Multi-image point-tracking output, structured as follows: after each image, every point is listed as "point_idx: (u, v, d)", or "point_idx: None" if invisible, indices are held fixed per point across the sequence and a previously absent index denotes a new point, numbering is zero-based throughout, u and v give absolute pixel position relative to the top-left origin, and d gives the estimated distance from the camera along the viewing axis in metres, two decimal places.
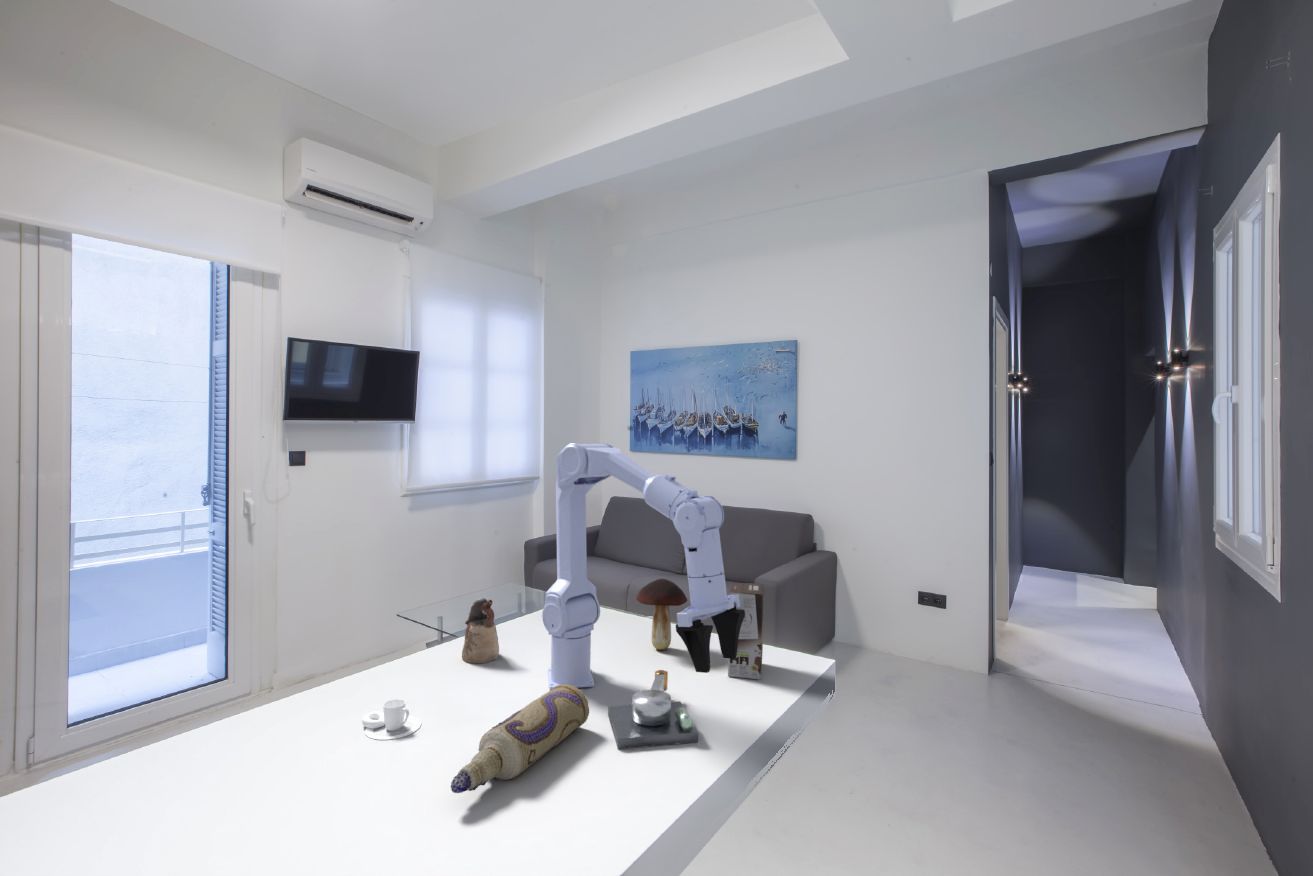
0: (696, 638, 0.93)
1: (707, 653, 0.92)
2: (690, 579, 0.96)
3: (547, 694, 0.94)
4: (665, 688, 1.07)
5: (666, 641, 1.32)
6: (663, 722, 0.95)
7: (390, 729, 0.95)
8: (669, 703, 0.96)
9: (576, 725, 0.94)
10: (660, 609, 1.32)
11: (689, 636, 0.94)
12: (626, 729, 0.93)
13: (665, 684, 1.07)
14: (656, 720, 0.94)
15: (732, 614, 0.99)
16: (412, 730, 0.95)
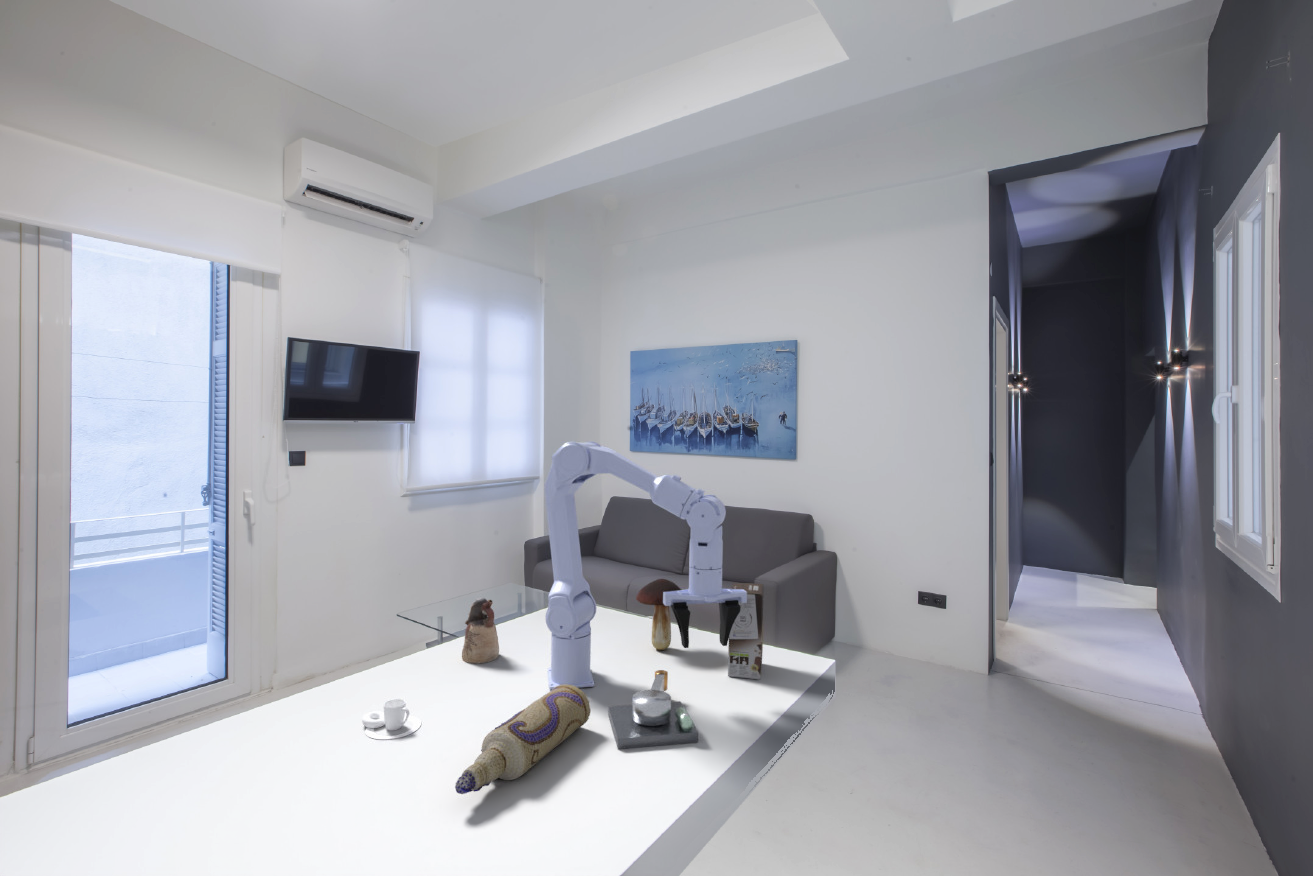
0: None
1: (685, 632, 1.06)
2: None
3: (548, 694, 0.94)
4: (665, 688, 1.07)
5: (666, 641, 1.32)
6: (663, 722, 0.95)
7: (390, 729, 0.95)
8: (669, 703, 0.96)
9: (578, 725, 0.94)
10: (660, 609, 1.32)
11: None
12: (626, 729, 0.93)
13: (665, 684, 1.07)
14: (656, 720, 0.94)
15: (726, 607, 1.07)
16: (412, 730, 0.95)
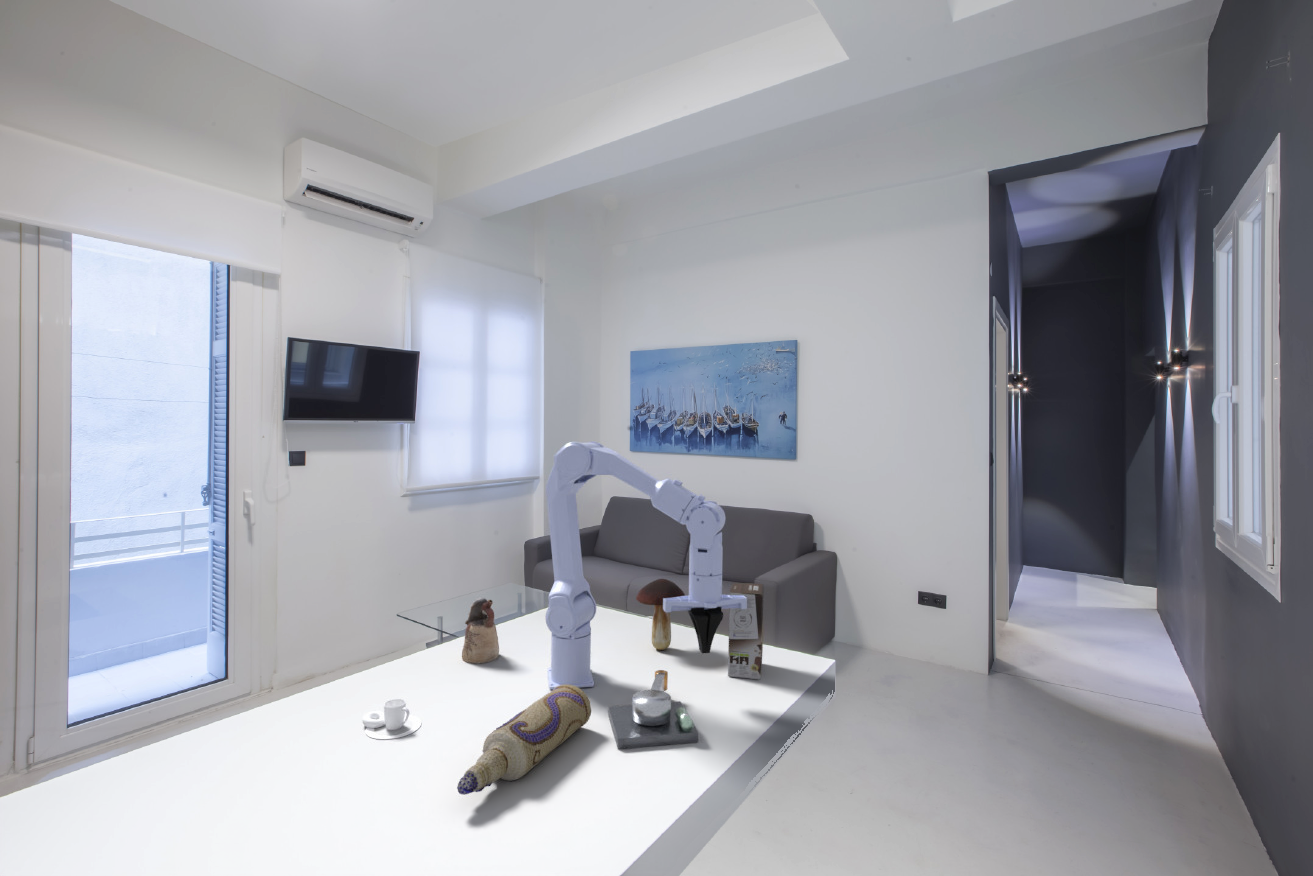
0: None
1: (703, 638, 1.07)
2: (689, 573, 1.09)
3: (549, 694, 0.94)
4: (665, 688, 1.07)
5: (666, 641, 1.32)
6: (663, 722, 0.95)
7: (390, 729, 0.95)
8: (669, 703, 0.96)
9: (578, 725, 0.94)
10: (660, 609, 1.32)
11: None
12: (626, 729, 0.93)
13: (665, 684, 1.07)
14: (656, 720, 0.94)
15: (708, 614, 1.07)
16: (412, 730, 0.95)
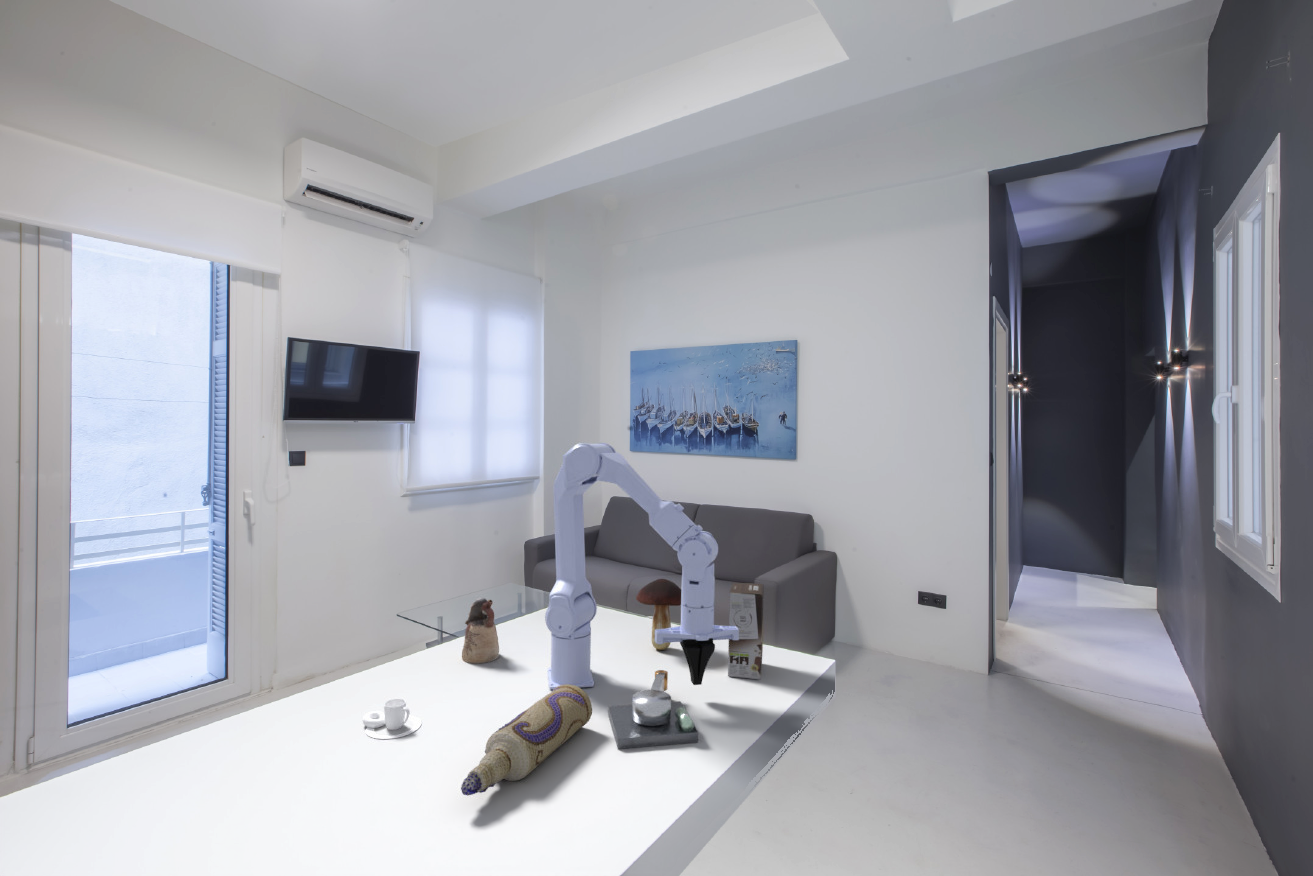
0: None
1: (694, 669, 1.06)
2: None
3: (550, 694, 0.94)
4: (665, 688, 1.07)
5: None
6: (663, 722, 0.95)
7: (391, 728, 0.95)
8: (669, 703, 0.96)
9: (580, 725, 0.94)
10: (660, 609, 1.32)
11: None
12: (626, 729, 0.93)
13: (665, 684, 1.07)
14: (656, 720, 0.94)
15: (700, 646, 1.06)
16: (413, 729, 0.95)
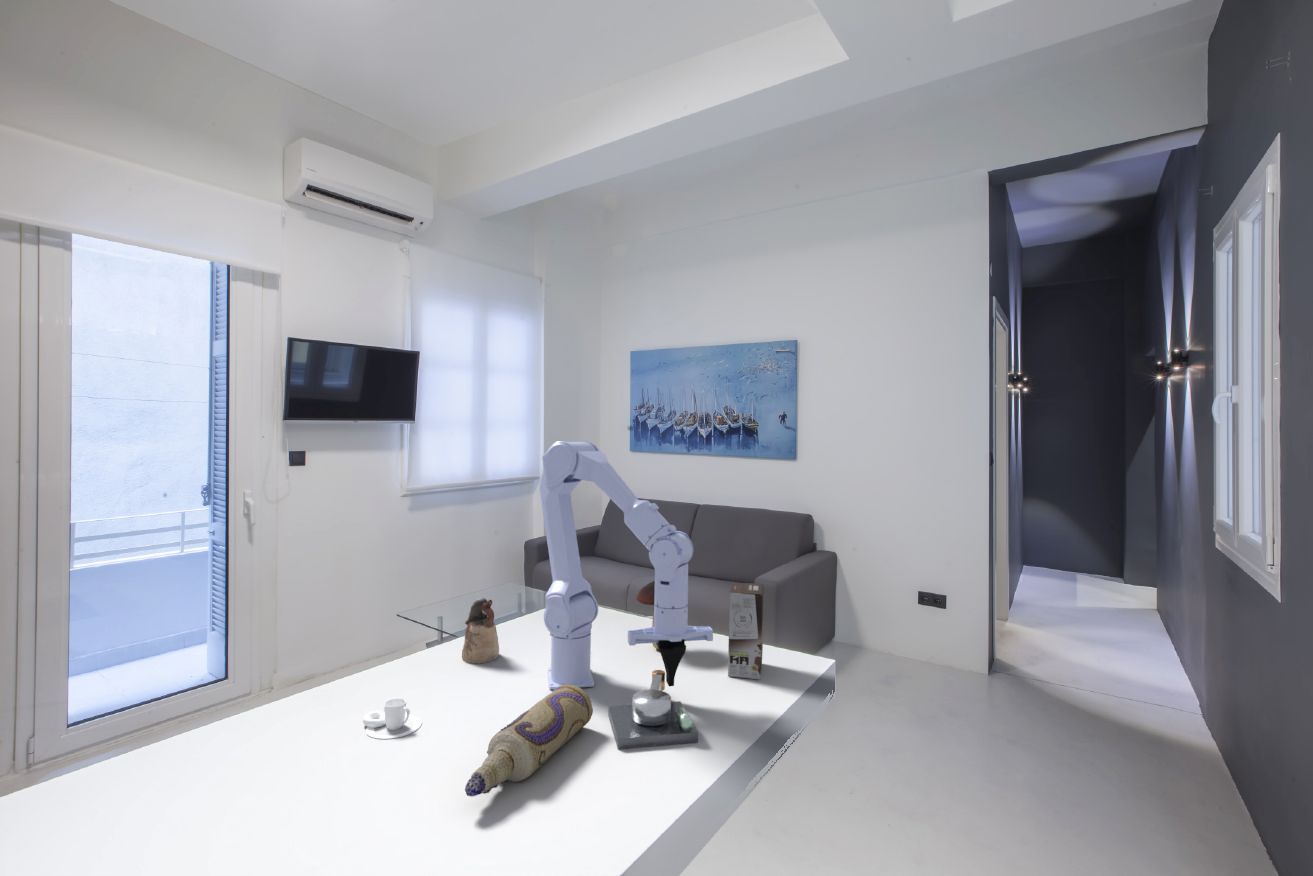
0: None
1: (670, 670, 1.05)
2: (654, 604, 1.08)
3: (551, 695, 0.94)
4: (662, 688, 1.07)
5: None
6: (663, 722, 0.95)
7: (391, 728, 0.95)
8: (669, 703, 0.96)
9: (581, 725, 0.94)
10: None
11: None
12: (626, 729, 0.93)
13: (662, 684, 1.07)
14: (657, 720, 0.94)
15: (671, 647, 1.05)
16: (413, 729, 0.95)
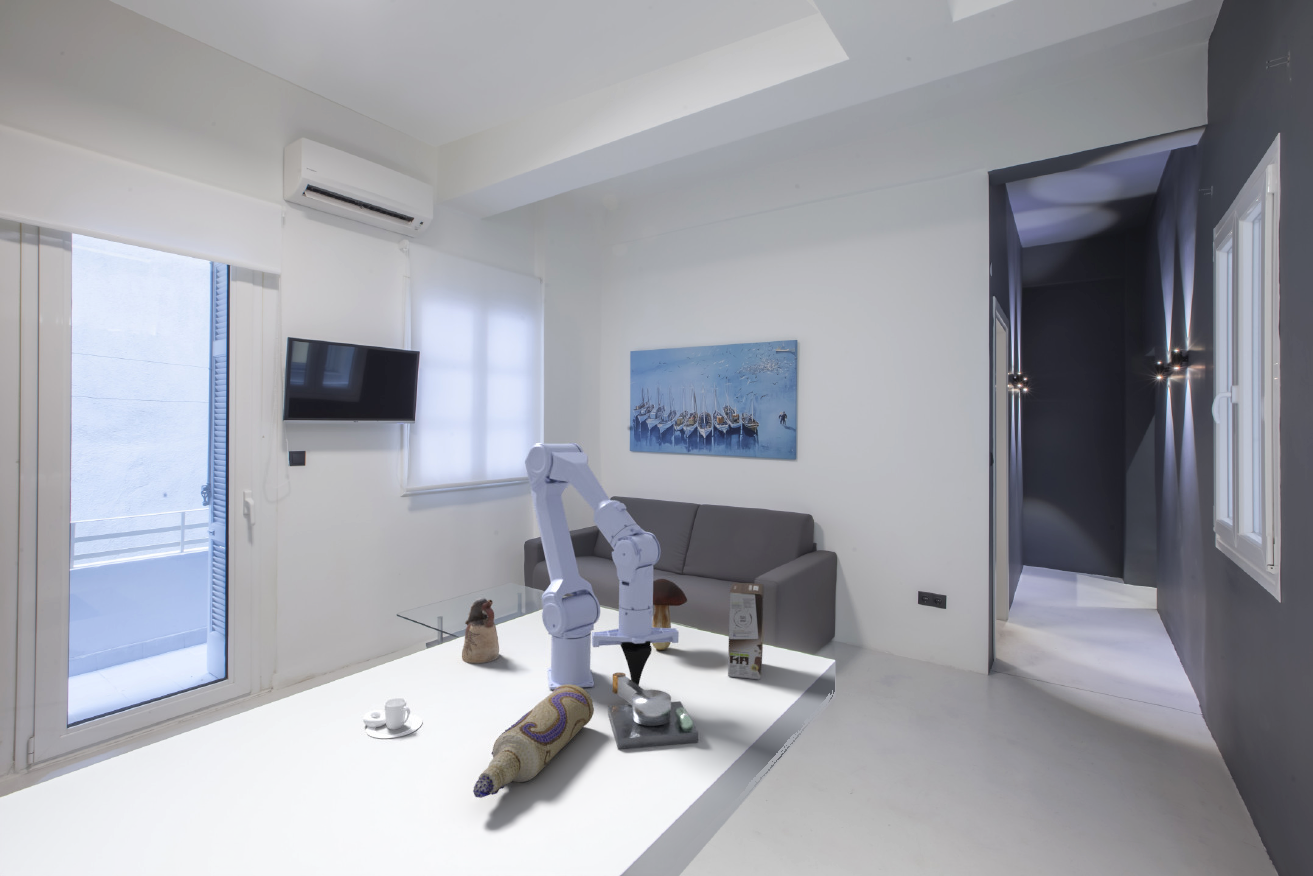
0: None
1: (633, 673, 1.04)
2: None
3: (553, 695, 0.94)
4: None
5: None
6: (670, 717, 0.96)
7: (391, 728, 0.95)
8: None
9: (583, 724, 0.94)
10: (660, 609, 1.32)
11: None
12: (626, 729, 0.93)
13: None
14: (667, 717, 0.95)
15: (636, 649, 1.04)
16: (413, 729, 0.95)
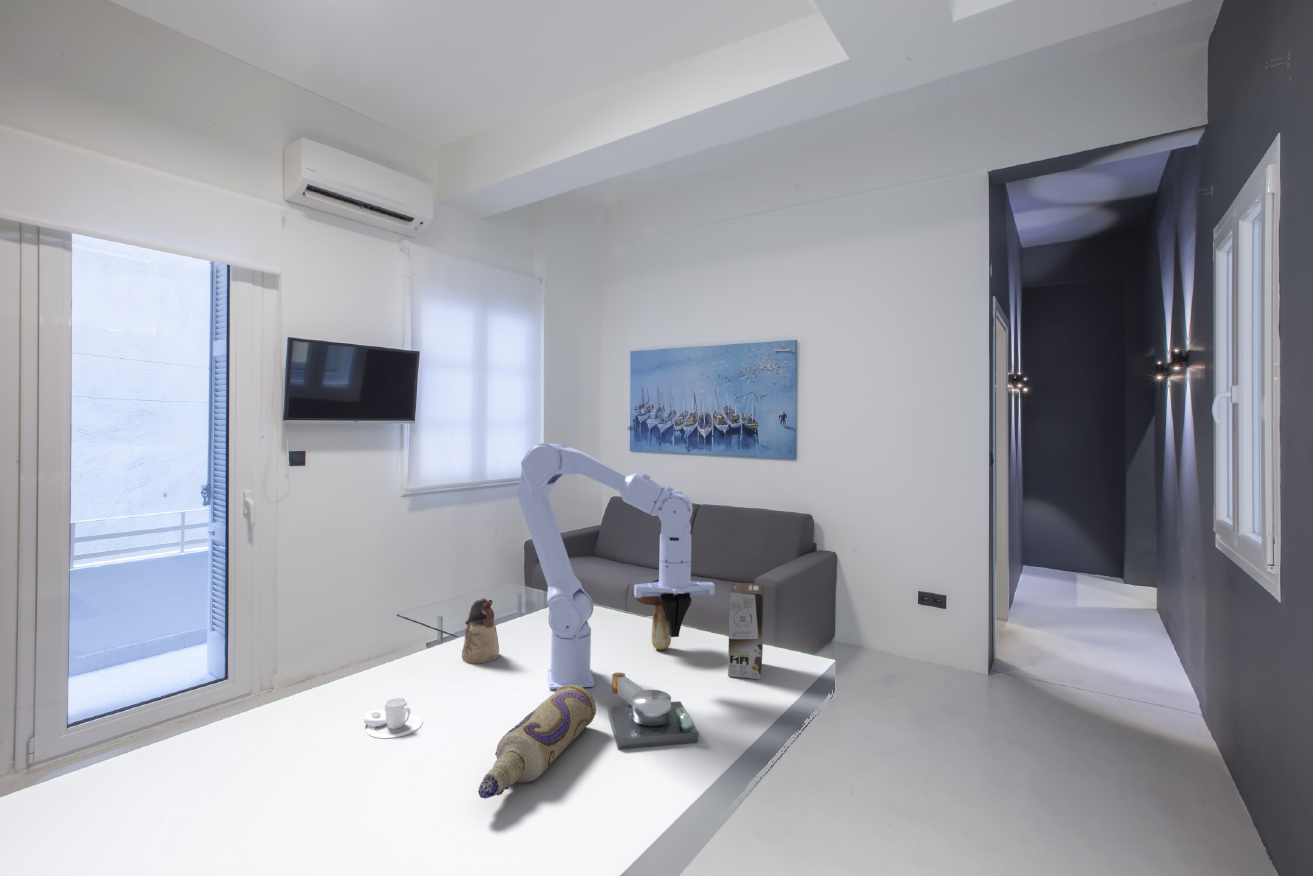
0: None
1: (672, 622, 1.12)
2: (659, 560, 1.14)
3: (555, 695, 0.94)
4: None
5: (666, 641, 1.32)
6: (670, 717, 0.96)
7: (392, 727, 0.95)
8: None
9: (585, 724, 0.94)
10: (660, 609, 1.32)
11: None
12: (626, 729, 0.93)
13: None
14: (667, 717, 0.95)
15: (677, 599, 1.12)
16: (413, 728, 0.96)
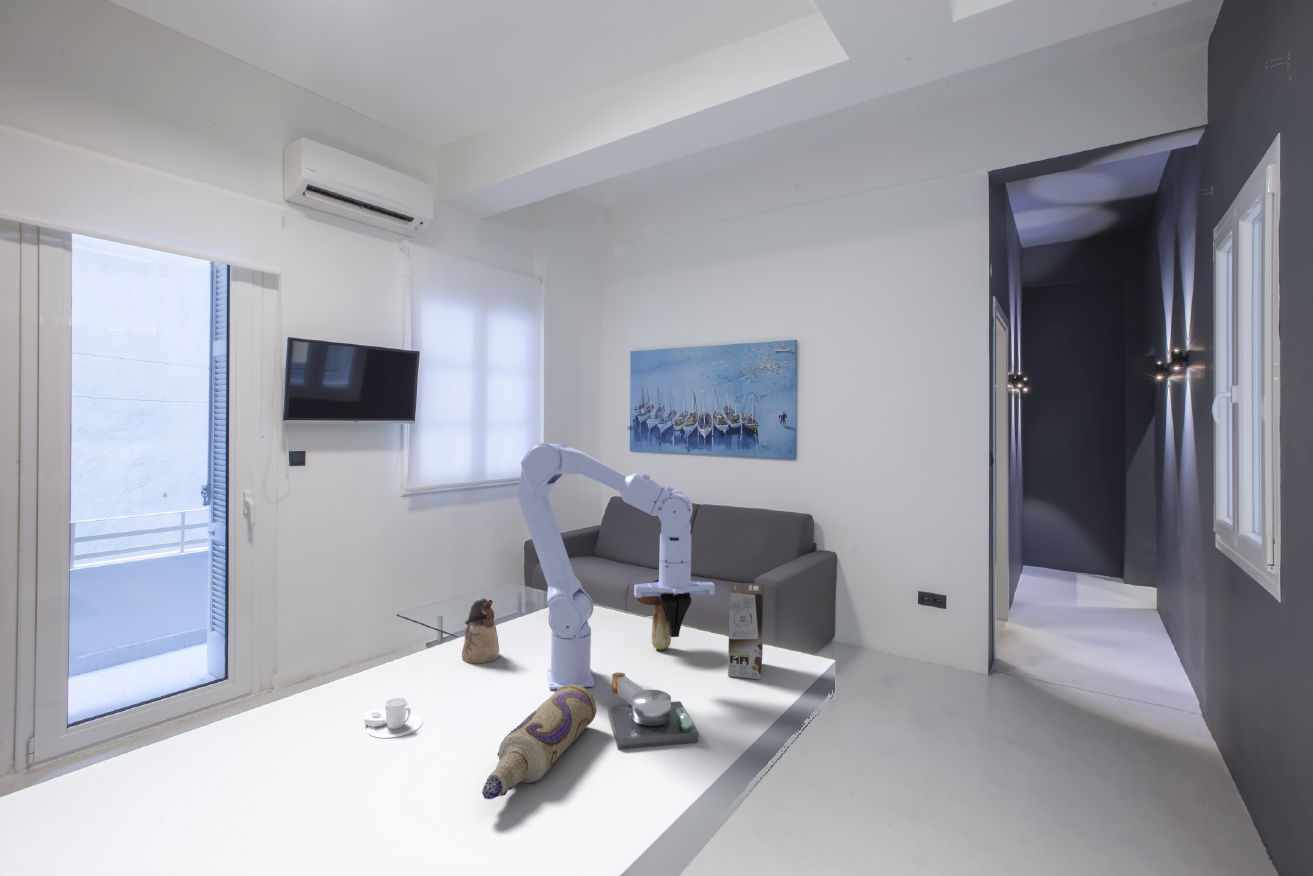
0: None
1: (672, 622, 1.12)
2: (659, 560, 1.14)
3: (556, 695, 0.94)
4: None
5: (666, 641, 1.32)
6: (670, 717, 0.96)
7: (392, 727, 0.96)
8: None
9: (586, 724, 0.94)
10: (660, 609, 1.32)
11: None
12: (626, 729, 0.93)
13: None
14: (667, 717, 0.95)
15: (677, 599, 1.12)
16: (414, 728, 0.96)
